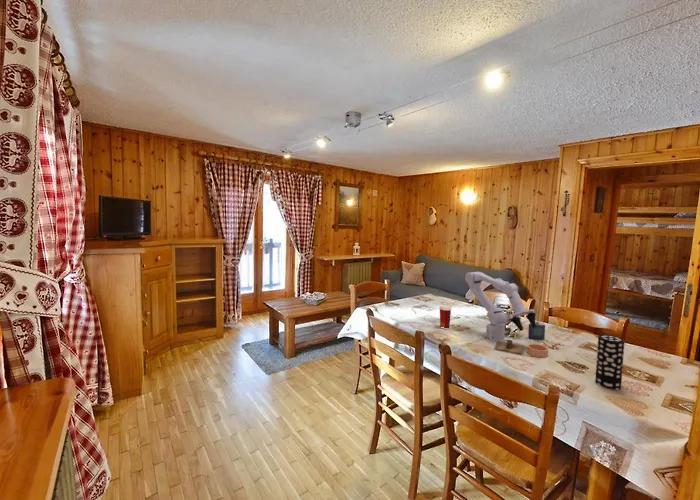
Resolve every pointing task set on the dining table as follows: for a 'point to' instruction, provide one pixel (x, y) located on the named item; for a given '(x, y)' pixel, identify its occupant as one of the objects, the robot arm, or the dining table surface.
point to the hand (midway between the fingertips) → (528, 328)
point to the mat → (509, 352)
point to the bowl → (537, 350)
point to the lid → (509, 347)
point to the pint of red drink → (445, 316)
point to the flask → (537, 331)
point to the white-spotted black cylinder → (609, 361)
